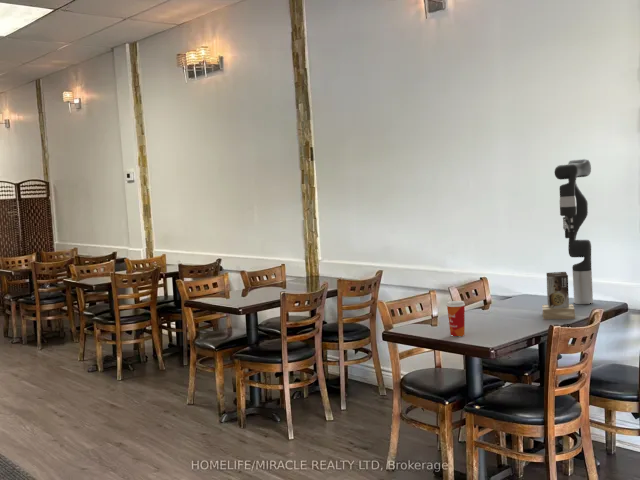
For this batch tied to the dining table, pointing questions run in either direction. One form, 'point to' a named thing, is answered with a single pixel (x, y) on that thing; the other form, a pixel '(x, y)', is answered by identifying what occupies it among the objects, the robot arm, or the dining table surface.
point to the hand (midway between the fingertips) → (569, 238)
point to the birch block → (558, 312)
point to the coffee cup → (456, 317)
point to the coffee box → (557, 290)
